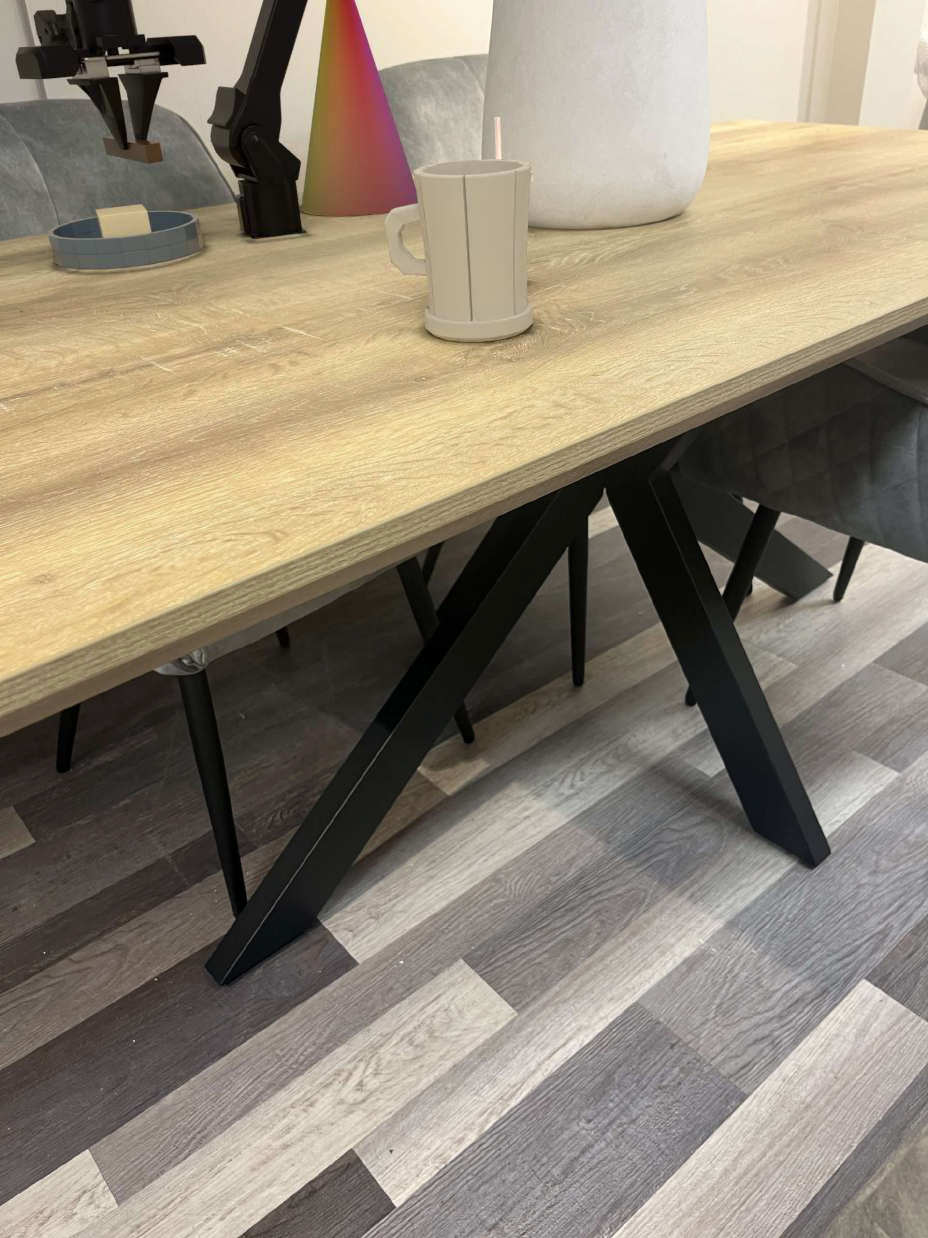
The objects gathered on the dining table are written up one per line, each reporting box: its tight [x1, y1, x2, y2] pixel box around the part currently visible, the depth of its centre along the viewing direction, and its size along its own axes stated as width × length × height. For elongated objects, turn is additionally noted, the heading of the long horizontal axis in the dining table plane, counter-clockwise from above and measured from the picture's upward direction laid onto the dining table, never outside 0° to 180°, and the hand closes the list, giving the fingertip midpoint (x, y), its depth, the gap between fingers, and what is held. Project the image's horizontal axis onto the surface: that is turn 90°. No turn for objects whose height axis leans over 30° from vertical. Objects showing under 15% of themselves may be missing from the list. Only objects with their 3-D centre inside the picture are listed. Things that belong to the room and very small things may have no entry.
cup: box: [383, 158, 534, 343], centre depth 77 cm, size 10×9×12 cm
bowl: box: [47, 210, 205, 271], centre depth 111 cm, size 16×16×4 cm
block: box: [95, 203, 151, 238], centre depth 108 cm, size 5×5×5 cm
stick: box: [102, 135, 164, 165], centre depth 107 cm, size 9×2×2 cm, turn 45°
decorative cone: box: [300, 0, 418, 217], centre depth 126 cm, size 16×16×30 cm
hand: (133, 148), depth 107 cm, fingers closed on stick, 2 cm apart
